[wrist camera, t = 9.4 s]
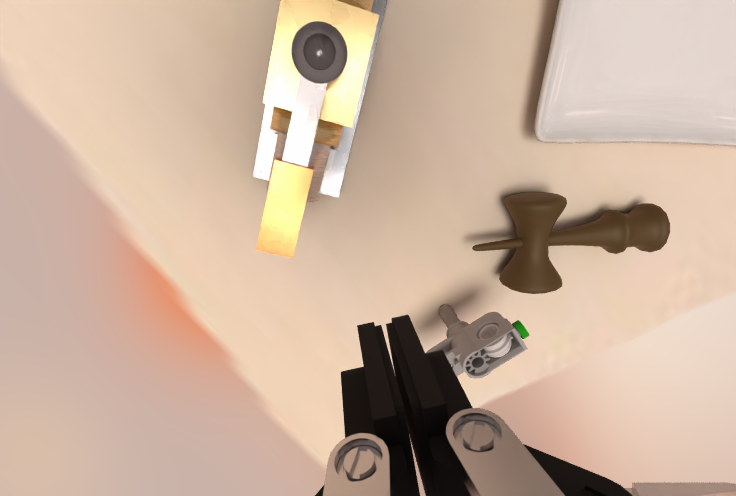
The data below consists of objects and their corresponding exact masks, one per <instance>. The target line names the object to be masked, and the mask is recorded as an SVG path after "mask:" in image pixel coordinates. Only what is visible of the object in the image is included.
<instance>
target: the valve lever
mask: <svg viewBox="0 0 736 496" xmlns="http://www.w3.org/2000/svg"><path fill="white" fill-rule="evenodd" d="M291 54H292V60H293V63H294V65H295V67H296V69H297V71H298V72H299V74H300V79H299V84H298V88H297V93H296V98H295V102H294V107H293V112H292V116H291V121H290V126H289V130H288V135H287V140H286V145H285V149H284V154H283V158H281V157H277V158H276V159H275V161H274V166H273V171H272V176H271V180H270V185H269V190H268V195H267V199H266V204H265V209H264V214H263V219H262V223H261V228H260V233H259V238H258V243H257V247H256V250H258V251H263V252H267V253H272V254H276V255H281V256H285V257H290V258H293V254H294V249H295V245H296V241H297V237H298V233H299V229H300V224H301V220H302V216H303V212H304V208H305V204H306V199H307V195H308V191H309V187H310V183H311V179H312V175H313V170H314V166H310V165H308V164H309V159H310V155H311V151H312V147H313V142H314V138H315V134H316V130H317V125H318V121H319V117H320V113H321V108H322V104H323V100H324V96H325V91H326V87H327V84H330V83H332V82H334V81H335V80H336V79H338V78H339V76H340V75H341V74H342V72H343V70H344V68H345V66H346V63H347V56H348V52H347V45H346V42H345V40H344V38H343V36H342V34H341V33H340V32H339V31H338V30H337V29H336V28H335V27H334V26H332V25H331V24H328V23H326V22H322V21H314V22H310V23H307V24H305V25H304V26H302V27H301V28H300V29H299V30H298V32H297V33H296V35H295V36H294V39H293V42H292V47H291Z"/></svg>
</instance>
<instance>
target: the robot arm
mask: <svg viewBox="0 0 736 496" xmlns="http://www.w3.org/2000/svg"><path fill="white" fill-rule="evenodd" d="M386 326H387V332H388V338H389V343H390V349H391V354H392V360H393V366H394V370H393V366H392V363H391V359H390V355H389V352H388V348H387V345H386V341H385V337H384V334H383V330H382V327H381V325H379V326H374V322H372V323H367V324H362V325H357V327H358V333H359V340H360V346H361V352H362V358H363V364H364V367H360V368H356V369H351V370H347V371H342V372H341V383H342V397H343V412H344V426H345V439H343V440H342V441H340V442H339V443H338V444H337V445H336V446H335V447H334V449H333V450H332V452H331V454H330V457H329V460H328V464H327V471H326V478H325V484H324V486H323V487H322V488H321V489H320V491H319V492H318V493H317V494H316V495H315V496H420V493H419V487H418V482H417V476H416V470H415V465H414V459H413V453H412V447H411V442H412V445H413V450H414V453H415V457H416V461H417V465H418V468H419V472H420V475H421V479H422V483H423V486H424V490H425V494H426V496H736V484H732V483H632V488H623V487H622V486H621V485H619V484H617V483H615V482H613V481H611V480H609V479H607V478H605V477H602V476H600V475H598V474H595V473H593V472H590V471H588V470H585V469H583V468H580V467H578V466H575V465H573V464H570V463H568V462H566V461H563V460H561V459H558V458H556V457H554V456H551V455H549V454H546V453H544V452H541V451H539V450H536V449H534V448H532V447H529V446H527V445H524V444H522V442H521V441H520V440H519V439H518V437H517V436H516V435H515V434H514V433H513V431H512V430H511V429H510V428H509V426H508V425H507V424H506V423H505V422H504V421H503V420H502V419H501V418H500V417H499V416H498V415H496V414H495V413H493V412H491V411H488V410H485V409H480V408H472V406H471V404H470V402H469V400H468V398H467V396H466V394H465V392H464V390H463V388H462V386H461V384H460V382H459V380H458V378H457V376H456V375H455V373H454V371H453V369H452V367H451V365H450V363H449V361H448V359H447V357H446V355H445V353H444V351H443V350H438V351H434V352H429V353H425V352H424V350H423V348H422V345H421V343H420V341H419V338H418V336H417V334H416V331H415V329H414V327H413V324H412V322H411V320H410V317H409V315H405V316H400V317H395V318H392V323H389V324H386ZM394 371H395V373H394ZM409 435H410V436H409ZM410 439H411V442H410Z"/></svg>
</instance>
